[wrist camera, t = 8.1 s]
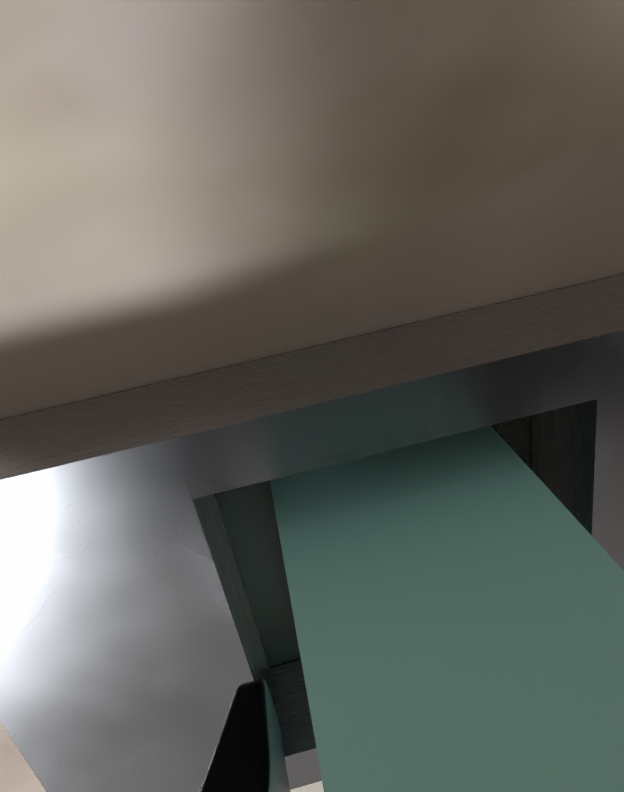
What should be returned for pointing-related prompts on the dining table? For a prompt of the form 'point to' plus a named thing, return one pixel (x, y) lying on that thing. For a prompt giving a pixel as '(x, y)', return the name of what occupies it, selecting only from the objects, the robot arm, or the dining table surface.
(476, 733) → the teal block
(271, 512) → the dining table surface
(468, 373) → the grey block with hole
